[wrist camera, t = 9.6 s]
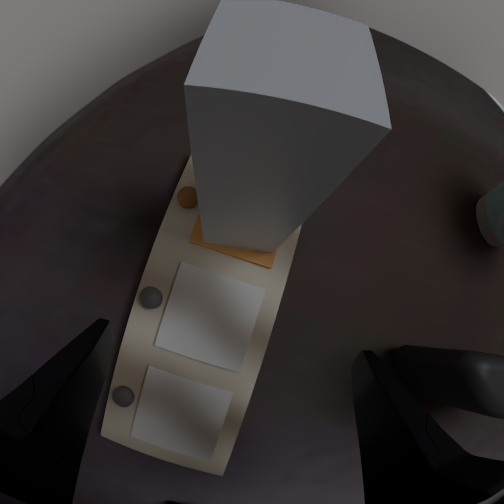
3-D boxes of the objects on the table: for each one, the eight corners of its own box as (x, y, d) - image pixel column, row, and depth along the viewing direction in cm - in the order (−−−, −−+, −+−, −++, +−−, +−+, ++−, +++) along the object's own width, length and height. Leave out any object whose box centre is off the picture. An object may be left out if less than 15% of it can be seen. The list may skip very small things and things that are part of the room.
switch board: (222, 468, 17) (222, 480, 15) (105, 429, 17) (97, 438, 15) (307, 191, 22) (314, 181, 20) (195, 155, 21) (194, 143, 20)
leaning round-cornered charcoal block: (374, 396, 20) (455, 429, 10) (390, 341, 21) (478, 348, 11) (484, 400, 20) (548, 411, 11) (494, 359, 22) (560, 362, 12)
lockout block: (273, 253, 19) (391, 129, 6) (204, 242, 19) (183, 84, 5) (279, 190, 20) (368, 25, 6) (215, 179, 20) (225, -7, 6)
